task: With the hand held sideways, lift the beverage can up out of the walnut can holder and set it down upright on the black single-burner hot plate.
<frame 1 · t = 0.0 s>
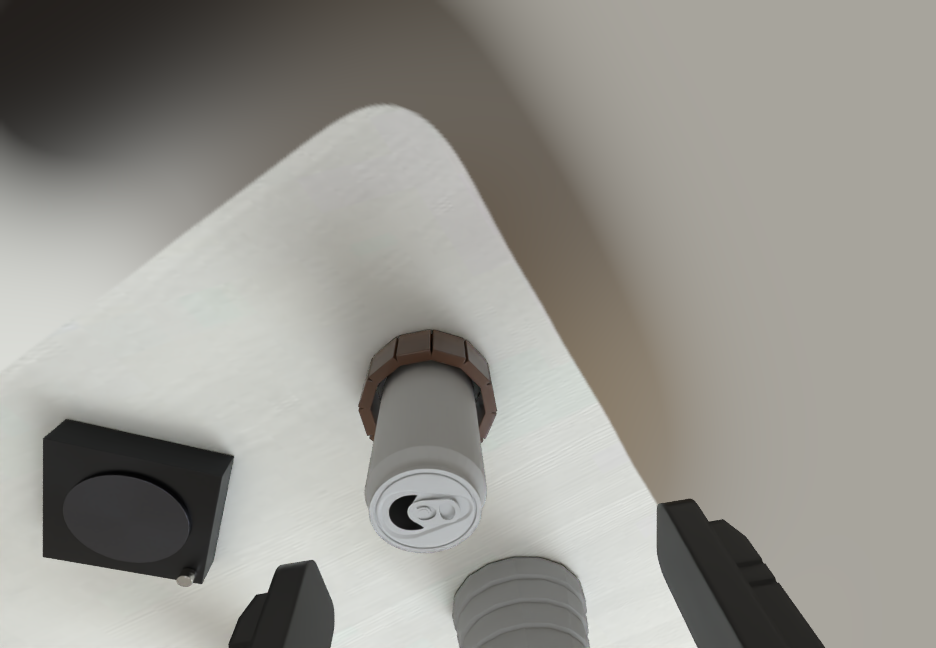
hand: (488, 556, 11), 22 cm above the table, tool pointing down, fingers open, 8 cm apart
can holder: (429, 386, 35), on the table
soap bottle: (517, 600, 45), on the table
beverage can: (429, 385, 35), resting in can holder
hot plate: (146, 496, 38), on the table
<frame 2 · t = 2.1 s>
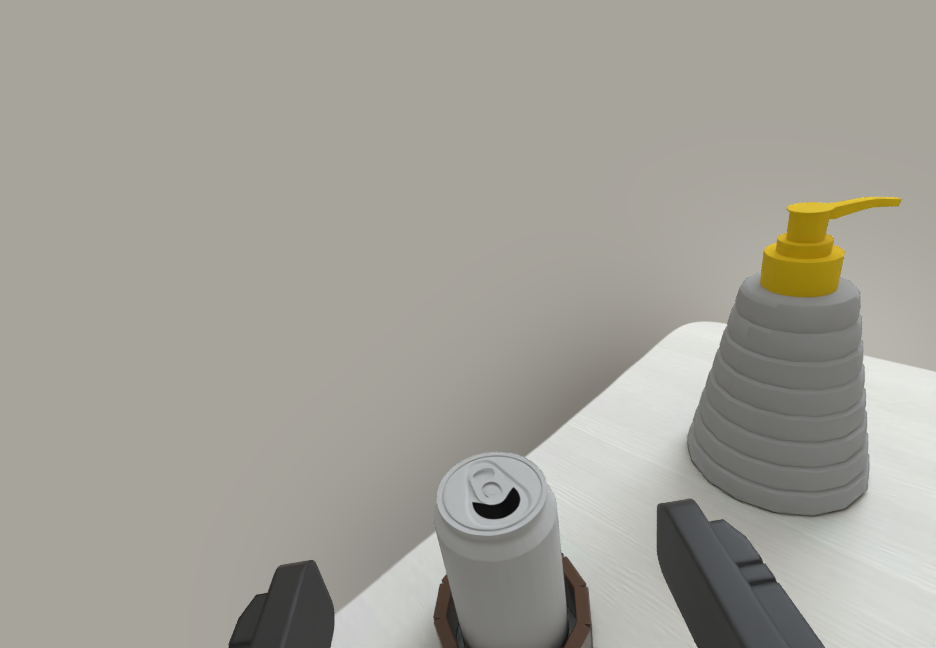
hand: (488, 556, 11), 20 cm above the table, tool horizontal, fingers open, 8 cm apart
can holder: (516, 633, 30), on the table
soap bottle: (770, 457, 39), on the table
beverage can: (516, 635, 30), resting in can holder
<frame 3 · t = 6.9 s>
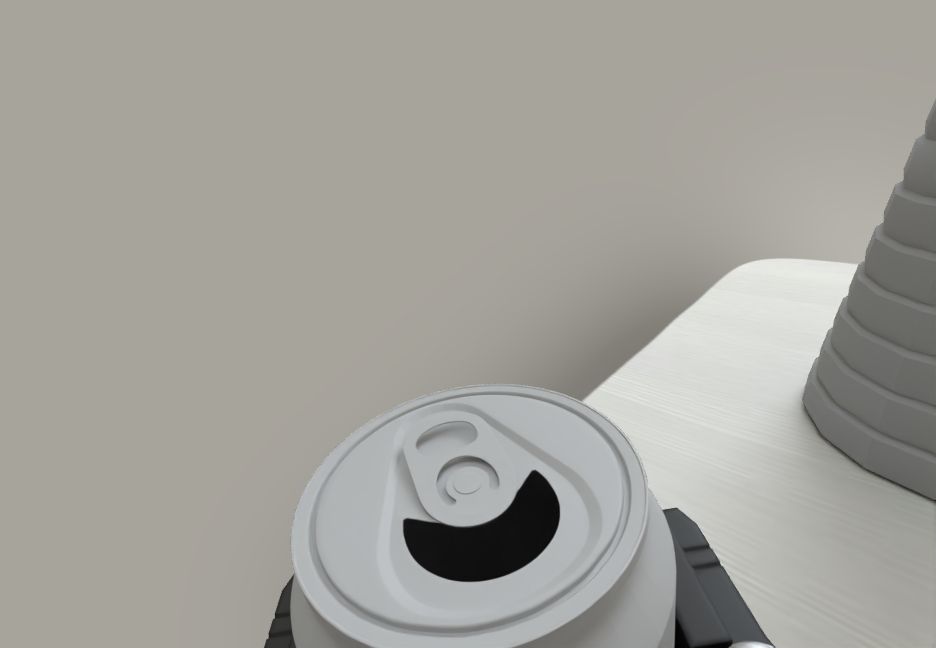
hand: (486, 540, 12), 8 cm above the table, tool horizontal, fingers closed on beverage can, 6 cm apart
when the fingers open (10 cm above the table, at t = 14.8 s): beverage can stays where it is, resting on hot plate.
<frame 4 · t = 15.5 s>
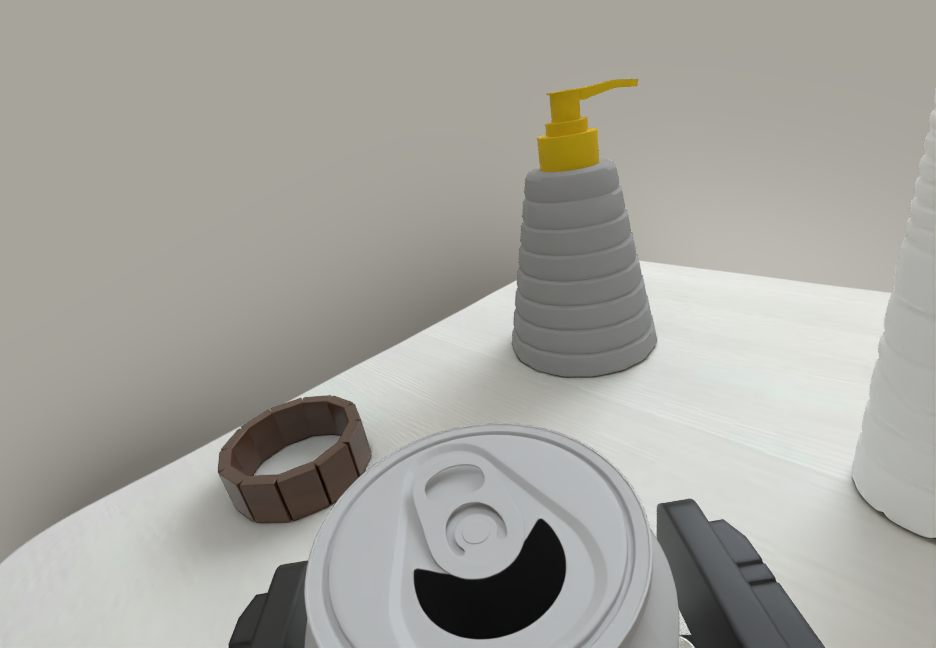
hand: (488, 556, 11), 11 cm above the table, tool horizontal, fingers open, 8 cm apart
can holder: (304, 469, 33), on the table
soap bottle: (582, 342, 43), on the table
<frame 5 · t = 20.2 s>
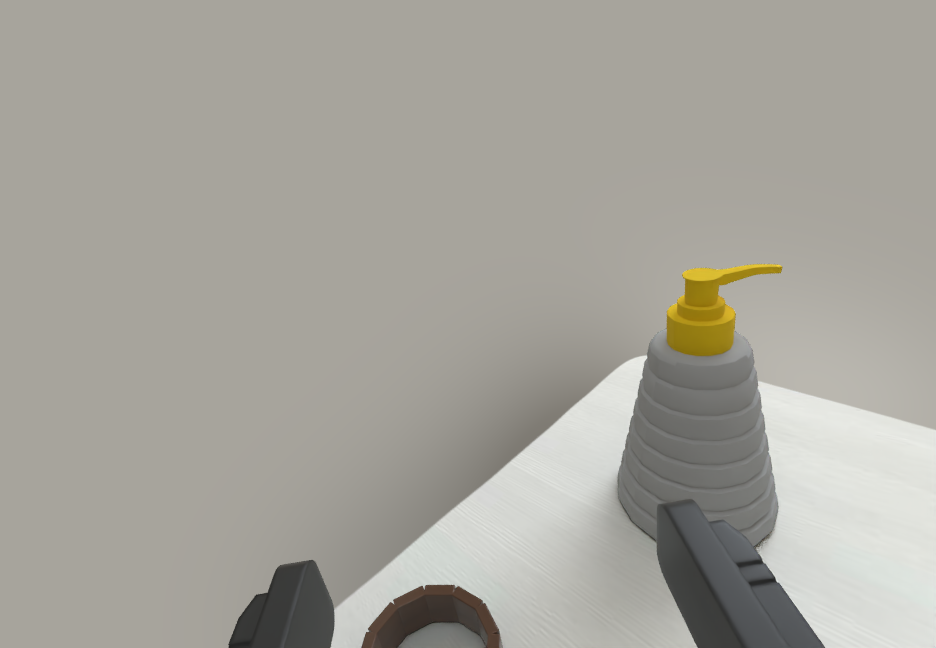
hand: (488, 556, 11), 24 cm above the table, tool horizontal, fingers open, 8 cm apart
soap bottle: (692, 496, 42), on the table
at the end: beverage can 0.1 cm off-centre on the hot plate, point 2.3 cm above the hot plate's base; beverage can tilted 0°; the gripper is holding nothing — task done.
